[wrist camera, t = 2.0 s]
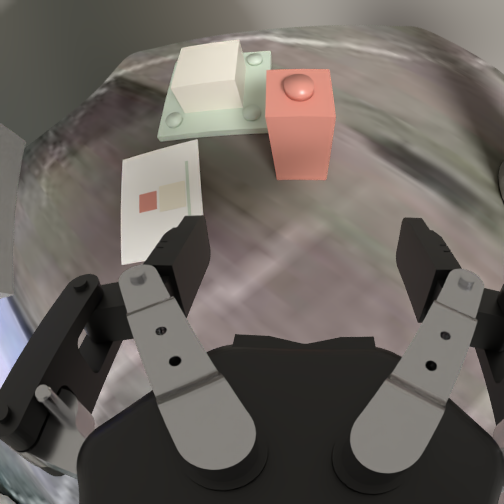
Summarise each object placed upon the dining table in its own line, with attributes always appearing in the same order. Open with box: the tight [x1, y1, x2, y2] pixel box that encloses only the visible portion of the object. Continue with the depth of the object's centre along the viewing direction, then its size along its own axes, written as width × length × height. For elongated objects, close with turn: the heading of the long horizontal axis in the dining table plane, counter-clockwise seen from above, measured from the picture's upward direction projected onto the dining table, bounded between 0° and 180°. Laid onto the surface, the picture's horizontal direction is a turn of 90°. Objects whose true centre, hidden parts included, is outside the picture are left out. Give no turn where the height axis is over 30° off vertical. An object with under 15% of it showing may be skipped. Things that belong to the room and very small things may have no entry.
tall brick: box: [265, 69, 336, 180], centre depth 23 cm, size 5×5×11 cm
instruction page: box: [121, 139, 203, 265], centre depth 30 cm, size 9×12×1 cm
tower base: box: [157, 40, 272, 142], centre depth 29 cm, size 12×12×6 cm
